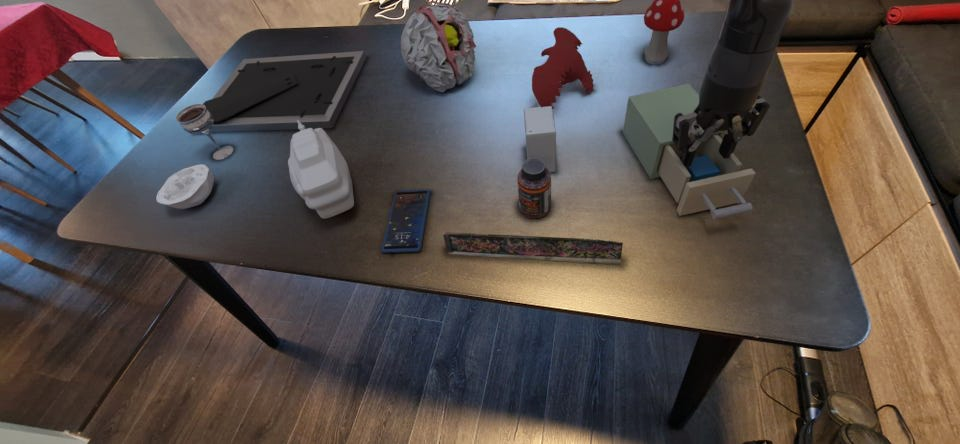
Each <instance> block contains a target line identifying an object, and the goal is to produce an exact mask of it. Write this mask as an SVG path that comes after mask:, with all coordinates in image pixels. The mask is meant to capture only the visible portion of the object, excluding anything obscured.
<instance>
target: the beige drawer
mask: <svg viewBox="0 0 960 444" xmlns="http://www.w3.org/2000/svg"><path fill="white" fill-rule="evenodd" d="M693 141H694V139H692V142H693ZM721 143H722V139H721V138H720V137H719V135H718V134H714V135H711V136H710V137H709V138H708V139H707V140H706V141H705V142H701V144H700V145H699V146H698V147H697V148H696V153H695V156H694V158H697V157H701V156H706V155H708V156H709V158H710V159H711V160H712V162H713V163H714V164H715V165H716V167H717V168H718V169H719V171H720V172H719V175H718V176H715V177H710V178H706V179H701V180H697V181H692V182H689V180H690V178H691V175H690V174H689V172H688V171H687V169H686V168H685V166H684V165H683V163H682V162H681V161H680V159H679V156H680V152H681V151H679V149H678V148H677V147H676V145H675V144H674V143H673V144H669V145H664V146H663V149H662V152H661V156H660V160H659V164H658V167H657V172H658V173H659V175H660V176H661V177H660V178H661V180H662V181H663V183H664V185H665V186H666V188H667V189H668V191H669V193H670V194H671V196H672V198H673V199H674V200H675V203H677V204H678V205H677V207H676V212H677V214H678V215H679V217H681V216H685V215H689V214H690V215H691V214H694V213H698V212H699V213H700V212H703V211H707V210H709V211H710V216H711V218H712V219H713V220H716V219H721V218H726V217H730V216H735V215H738V214H744V213H747V212H748V213H749V212H751V211H752V210H753V205H752V203H751V202H747V201H746V199H744V196H745V195H746V192H747V191H748V189H749V187H750V185H751V183H752V181H753V179H754V178H755V176H756V172H755V170H754V169H753V168H752V167H751V168H747V169H743V170H741V168H742V166H743V163H742V162H741V160H739V158H737V156H736V155H735V153H734V152H733V153H732V154H731V155H730V157H729V158H725V159H724V158H723V157H722V156H721V154H720V153H719V148H720V145H721ZM734 204H735V205H734ZM736 204H737V205H736Z"/></svg>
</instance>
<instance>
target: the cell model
mask: <svg viewBox="0 0 960 444" xmlns="http://www.w3.org/2000/svg"><path fill="white" fill-rule="evenodd" d="M214 182H215V176H214V174H213V173H212V171H211V170H210V168H209V167H208V166H207V165H206V164H203V163H199V164H196V165H191V166H188V167H184V168H182V169H180V170H179V171H176V172H174V173H173V174H172V175H169V177H167V179H166V180H165V182H164V183H163V185H162V187H160V189H159V190H158V192H157V193H156V197H155V198H156V202H157V203H158V204H161V205H164V206H167V207H169V208H173V209H179V210H186V209H189V208H193V207H197V206H199V205H201V204H203V203H204V202H205V201H206V200H207V198H208V197H209V196H210V194H211V193H212V190H213V188H214V187H213V186H214Z"/></svg>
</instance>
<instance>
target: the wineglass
mask: <svg viewBox="0 0 960 444" xmlns="http://www.w3.org/2000/svg"><path fill="white" fill-rule="evenodd" d="M175 121H176V122H178V123H179V124H180V126H181V128H182V129H183V131H185V132H187V133H188V134H190V135H197V136H199V135H206V137H208V138H209V140H210V141H211V142H212V143H213V144H214V145H215V146H216V148H217V149H216V150H215V151H214V152H213V155H212V158H213V159H214V160H217V161H221V160H224V159H226V158H228V157H230V155H231V154H232V153H233V152H234V147H233V146H232V145H223V146H221V147H220V144H218V143H217V141H216V140H215V139H214V137H213V136H212V134H211V133H209V132H210V129H211V128H212V127H213V123H214V119H213V116H212V114H211V113H210V112H209V111H208V110H206V107H205V105H203V103H195V104H191V105H188V106H187V107H184V108H182V109H181V110H180V111H179V112H178V113H177V114H176V116H175Z"/></svg>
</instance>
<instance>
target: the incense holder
mask: <svg viewBox="0 0 960 444" xmlns="http://www.w3.org/2000/svg"><path fill="white" fill-rule="evenodd" d="M442 237H443V241H444V245H445V249H446V253H447V254H448V255H457V256H458V255H459V256H469V257H482V258H496V259H513V260H514V259H515V260H529V261H530V260H531V261H542V262H543V261H544V262H545V261H546V262H561V263H576V264H590V265H591V264H592V265H607V266H621V264H622V254H623V253H622V252H623V247H624V242H619V241H615V240H614V241H613V240H612V241H611V240H604V239H598V238H597V239H593V238H591V239H590V238H577V237H558V236H557V237H555V236H535V235H517V234H516V235H513V234H511V235H510V234H495V233H493V234H491V233H487V234H486V233H484V234H483V233H473V232H471V233H470V232H452V231H451V232H449V231H448V232H446V231H443V232H442Z"/></svg>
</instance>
